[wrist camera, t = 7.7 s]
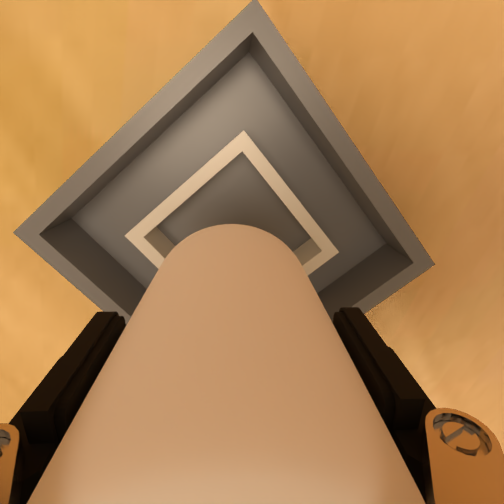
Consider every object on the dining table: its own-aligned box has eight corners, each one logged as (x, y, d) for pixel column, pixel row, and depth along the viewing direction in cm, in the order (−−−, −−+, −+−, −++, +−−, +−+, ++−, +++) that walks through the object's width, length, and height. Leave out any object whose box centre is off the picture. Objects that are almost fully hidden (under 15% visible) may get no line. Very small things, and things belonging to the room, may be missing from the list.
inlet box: (398, 240, 26) (434, 264, 21) (223, 367, 29) (220, 413, 24) (250, 29, 20) (255, -3, 16) (57, 213, 24) (13, 232, 19)
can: (276, 368, 16) (382, 947, 5) (142, 335, 15) (-148, 970, 4) (328, 246, 14) (741, 732, 3) (177, 200, 13) (-221, 652, 2)
